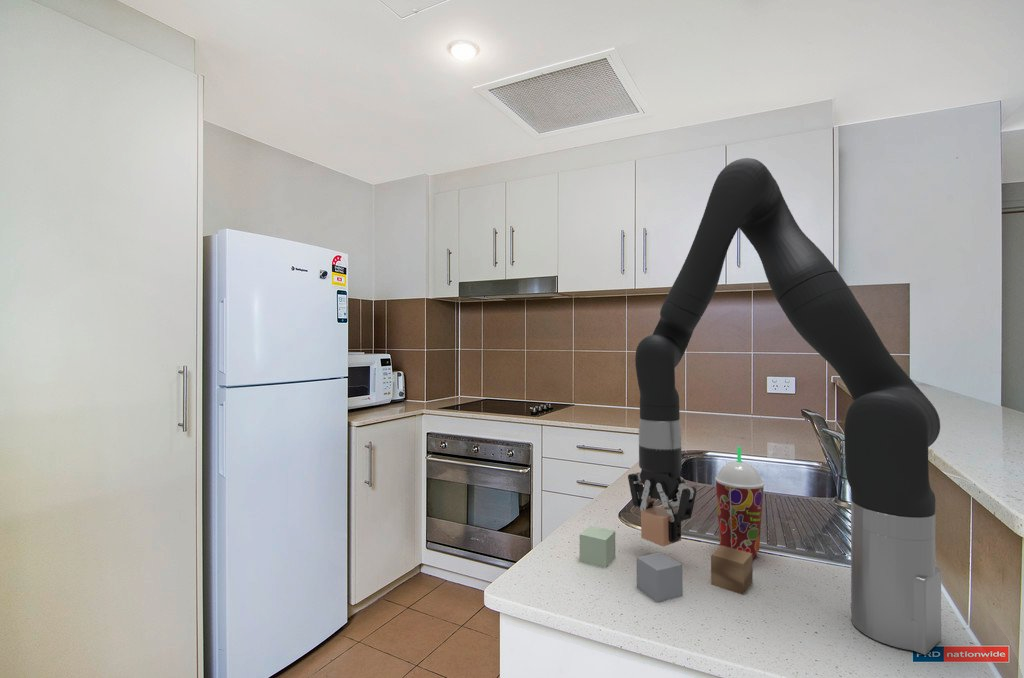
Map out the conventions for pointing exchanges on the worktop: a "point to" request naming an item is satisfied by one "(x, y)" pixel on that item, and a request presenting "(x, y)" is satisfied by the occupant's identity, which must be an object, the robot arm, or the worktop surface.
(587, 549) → the sage block
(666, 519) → the terracotta block
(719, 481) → the smoothie
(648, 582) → the grey block
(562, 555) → the worktop surface
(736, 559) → the walnut block
